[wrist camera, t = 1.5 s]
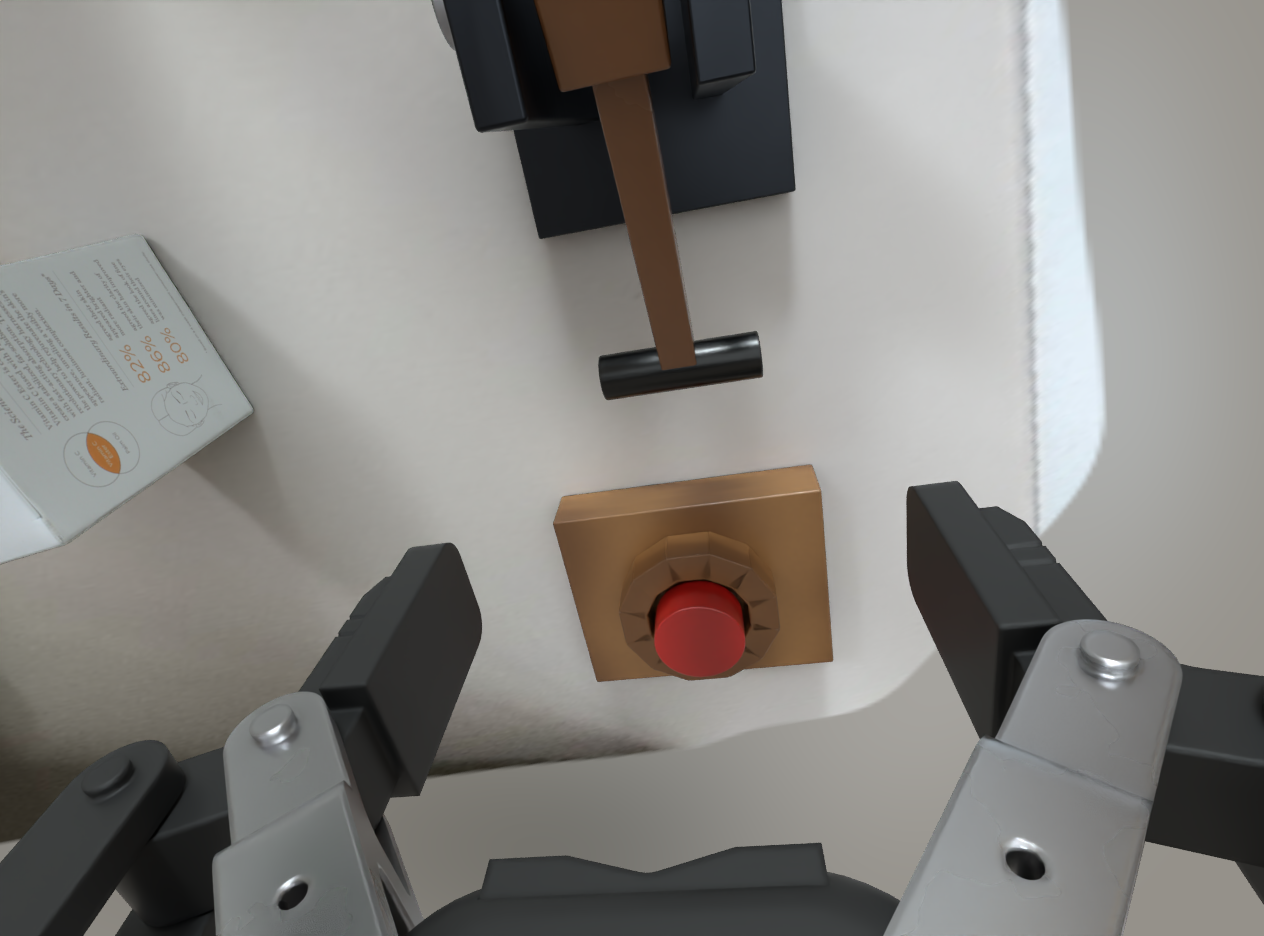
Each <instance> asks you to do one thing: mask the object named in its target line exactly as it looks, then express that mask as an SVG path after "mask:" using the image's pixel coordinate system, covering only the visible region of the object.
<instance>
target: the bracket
mask: <svg viewBox="0 0 1264 936" xmlns="http://www.w3.org/2000/svg"><path fill="white" fill-rule="evenodd" d="M431 1H432V5H433V8H434V12H435V15H436V18H437V21H438V23H439V26H440V28H441V31H442V33H443V35H444V37H445V39H446V41H447V42H448V44H449V45H450V47H451V48H452V49H453V50H455V51H456V55H457V59H458V62H459V66H460V70H461V74H462V78H463V82H464V86H465V89H466V93H467V97H468V101H469V105H470V109H471V113H472V116H473V120H474V124H475V128H476V129H477V131H478V132H482V133H483V132H496V131H509V130H514V134H515V139H516V143H517V147H518V151H519V155H520V160H521V164H522V168H523V172H524V177H525V181H526V185H527V189H528V193H529V198H530V202H531V206H532V210H533V215H534V219H535V223H536V227H537V231H538V236H539V238H540V239H543V238H549V237H554V236H559V235H565V234H570V233H575V232H581V231H586V230H591V229H597V228H602V227H607V226H612V225H618V224H623V223H625V219H624V215H623V211H622V207H621V203H620V199H619V195H618V190H617V186H616V182H615V178H614V174H613V170H612V166H611V162H610V158H609V154H608V150H607V146H606V142H605V137H604V133H603V129H602V125H601V121H600V117H599V113H598V109H597V105H596V101H595V97H594V93H593V89H592V86H589V87H584V88H580V89H575V90H571V91H566V92H561V91H560V89H559V88H558V85H557V81H556V78H555V74H554V71H553V67H552V64H551V60H550V57H549V53H548V50H547V46H546V43H545V39H544V36H543V32H542V29H541V25H540V22H539V18H538V15H537V12H536V8H535V5H534V1H533V0H431ZM664 4H665V11H666V20H667V28H668V36H669V45H670V53H671V62H672V63H671V67H670V68H668V69H666V70H661V71H657V72H652V73H648V79H649V85H650V90H651V96H652V102H653V107H654V113H655V119H656V125H657V130H658V136H659V142H660V147H661V153H662V159H663V165H664V170H665V176H666V182H667V187H668V193H669V199H670V205H671V210H672V214H676V213H682V212H687V211H692V210H697V209H703V208H708V207H713V206H719V205H724V204H729V203H735V202H740V201H745V200H751V199H756V198H761V197H767V196H772V195H777V194H783V193H788V192H793V191H795V176H794V162H793V148H792V135H791V121H790V108H789V94H788V80H787V67H786V53H785V40H784V26H783V12H782V0H664Z"/></svg>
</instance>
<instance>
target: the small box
mask: <svg viewBox="0 0 1264 936" xmlns="http://www.w3.org/2000/svg"><path fill="white" fill-rule="evenodd" d="M252 413H253V408H252V406H251V404H250V403H249V401H248V400H247V398H246V397H245V395H244V394H243V392H242V391H241V389H240V388H239V386H238V385H237V383H236V381H235V380H234V378H233V377H232V375H231V374H230V372H229V370H228V369H227V367H226V366H225V364H224V363H223V361H222V360H221V358H220V356H219V355H218V353H217V351H216V350H215V348H214V347H213V345H212V344H211V342H210V341H209V339H208V338H207V336H206V334H205V333H204V331H203V330H202V328H201V326H200V325H199V323H198V322H197V320H196V319H195V317H194V315H193V314H192V312H191V311H190V309H189V308H188V306H187V304H186V303H185V301H184V300H183V298H182V297H181V295H180V293H179V292H178V290H177V289H176V287H175V286H174V284H173V283H172V281H171V280H170V278H169V277H168V275H167V273H166V272H165V270H164V269H163V267H162V266H161V264H160V263H159V261H158V260H157V258H156V256H155V255H154V253H153V252H152V250H151V248H150V247H149V245H148V244H147V242H146V240H145V239H144V237H143V236H142V235H139V234H134V235H129V236H125V237H121V238H117V239H113V240H109V241H104V242H100V243H96V244H92V245H87V246H83V247H79V248H74V249H70V250H66V251H62V252H58V253H53V254H49V255H45V256H41V257H36V258H32V259H27V260H23V261H18V262H14V263H10V264H5V265H0V564H4V563H7V562H10V561H14V560H17V559H20V558H24V557H27V556H30V555H34V554H37V553H40V552H43V551H47V550H50V549H53V548H57V547H60V546H64V545H66V544H68V543H70V542H71V541H73V540H74V539H75V538H77V537H78V536H80V535H81V534H83V533H84V532H85V531H87V530H88V529H89V528H91V527H92V526H94V525H95V524H96V523H98V522H99V521H101V520H102V519H103V518H105V517H106V516H108V515H109V514H111V513H112V512H113V511H115V510H116V509H118V508H119V507H120V506H122V505H123V504H125V503H126V502H127V501H129V500H130V499H132V498H133V497H135V496H136V495H137V494H139V493H140V492H142V491H143V490H145V489H146V488H147V487H149V486H150V485H152V484H153V483H155V482H156V481H157V480H159V479H160V478H162V477H163V476H165V475H166V474H168V473H169V472H170V471H172V470H173V469H175V468H176V467H177V466H179V465H180V464H182V463H183V462H185V461H186V460H187V459H189V458H190V457H191V456H193V455H194V454H196V453H197V452H199V451H200V450H201V449H203V448H204V447H205V446H207V445H208V444H210V443H211V442H213V441H214V440H215V439H217V438H218V437H220V436H221V435H222V434H224V433H225V432H227V431H228V430H230V429H231V428H232V427H234V426H235V425H236V424H238V423H239V422H241V421H242V420H244V419H245V418H246V417H248V416H249V415H251V414H252Z"/></svg>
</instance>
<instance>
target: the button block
mask: <svg viewBox="0 0 1264 936" xmlns="http://www.w3.org/2000/svg"><path fill="white" fill-rule="evenodd" d="M553 525H554V529H555V532H556V536H557V540H558V543H559V547H560V550H561V554H562V558H563V561H564V565H565V568H566V572H567V575H568V579H569V583H570V586H571V590H572V593H573V597H574V601H575V604H576V608H577V611H578V615H579V619H580V622H581V626H582V629H583V633H584V637H585V640H586V644H587V647H588V651H589V654H590V658H591V662H592V665H593V669H594V672H595V676H596V680H597V682H602V681H614V680H626V679H637V678H649V677H660V676H672V675H673V676H676V677H679V678H682V679H685V680H688V681H689V680H703V679H715V678H726V677H729V676H733V675H734V674H736V673H738V672H740V671H742V670H743V669H753V668H765V667H776V666H788V665H799V664H811V663H822V662H832V661H833V649H832V635H831V621H830V607H829V593H828V579H827V565H826V550H825V536H824V522H823V508H822V494H821V489H820V486H819V483H818V480H817V478H816V475H815V472H814V469H813V466H812V465H804V466H796V467H789V468H781V469H773V470H765V471H758V472H750V473H742V474H734V475H727V476H719V477H711V478H703V479H696V480H688V481H680V482H672V483H665V484H657V485H649V486H641V487H634V488H626V489H618V490H610V491H603V492H595V493H587V494H579V495H572V496H564V497H562V498H561V501H560V504H559V507H558V510H557V513H556V516H555V519H554V522H553ZM698 580H699V581H709V582H713V583H716V584H719V585H721V586H723V587H725V588H726V589H728V590H729V591H730V592H731V593H733V594H734V596H735V597H736V598H737V599H738V601H739V603H740V605H741V608H742V613H743V622H744V631H745V642H746V643H745V649H744V652H743V654H742V656H741V658H740V659H739V661H738V662H737V663H736V664H735V665H734V666H733V667H732V668H730V669H728V670H727V671H725V672H723V673H720V674H717V675H713V676H708V677H693V676H688V675H684V674H681V673H678V672H676V671H674V670H673V669H671V668H669V667H668V666H667V665H666V664H665V663H664V662H663V661H662V660H661V659H660V657H659V656H658V654H657V652H656V649H655V645H654V634H655V618H656V609H657V605H658V603H659V601H660V599H661V598H662V596H663V595H664V594H665V593H666V592H667V591H668V590H670V589H671V588H673V587H674V586H676V585H679V584H681V583H684V582H688V581H698Z"/></svg>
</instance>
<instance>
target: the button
mask: <svg viewBox="0 0 1264 936" xmlns="http://www.w3.org/2000/svg"><path fill="white" fill-rule="evenodd" d="M745 643H746V642H745V631H744V622H743V613H742V608H741V605H740V603H739V601H738V599H737V598H736V597H735V596H734V594H733V593H731V592H730V591H729V590H728V589H726V588H725V587H723V586H721V585H719V584H716V583H713V582H709V581H699V580H698V581H688V582H684V583H681V584H679V585H676V586H674V587H673V588H671V589H670V590H668V591H667V592H666V593H665V594H664V595H663V596H662V598H661V599H660V601H659V603H658V605H657V609H656V618H655V634H654V645H655V649H656V652H657V654H658V656H659V657H660V659H661V660H662V661H663V662H664V663H665V664H666V665H667V666H668V667H669V668H671V669H673V670H674V671H676V672H678V673H681V674H684V675H688V676H693V677H708V676H713V675H717V674H720V673H723V672H725V671H727V670H728V669H730V668H732V667H733V666H734V665H735V664H736V663H737V662H738V661H739V659H740V658H741V656H742V654H743V652H744V649H745Z"/></svg>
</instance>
